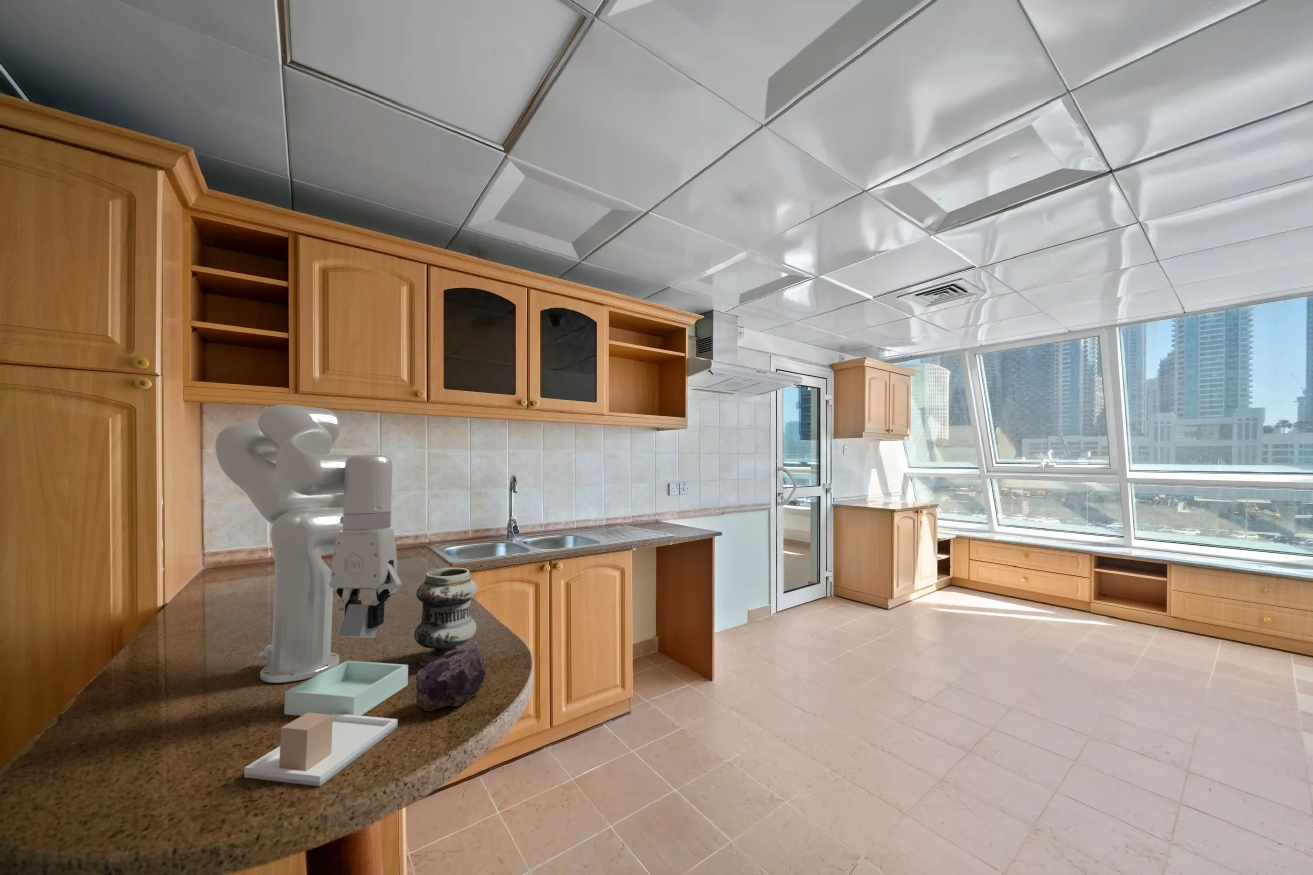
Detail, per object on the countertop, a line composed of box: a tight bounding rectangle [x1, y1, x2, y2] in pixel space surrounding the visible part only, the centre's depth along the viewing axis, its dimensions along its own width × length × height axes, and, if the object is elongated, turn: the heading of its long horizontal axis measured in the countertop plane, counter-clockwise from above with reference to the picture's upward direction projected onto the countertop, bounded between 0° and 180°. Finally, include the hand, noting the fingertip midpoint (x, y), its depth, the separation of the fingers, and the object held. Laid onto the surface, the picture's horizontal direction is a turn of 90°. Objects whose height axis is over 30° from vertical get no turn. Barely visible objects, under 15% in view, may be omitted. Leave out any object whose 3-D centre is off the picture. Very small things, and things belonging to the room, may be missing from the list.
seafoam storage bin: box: [283, 660, 409, 717], centre depth 83 cm, size 13×13×4 cm
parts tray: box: [243, 713, 399, 787], centre depth 68 cm, size 11×14×1 cm
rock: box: [415, 641, 487, 712], centre depth 83 cm, size 12×9×10 cm
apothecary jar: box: [413, 567, 478, 667], centre depth 102 cm, size 12×12×18 cm
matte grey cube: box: [338, 604, 379, 639], centre depth 86 cm, size 4×4×5 cm
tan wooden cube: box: [279, 713, 333, 771], centre depth 65 cm, size 4×4×5 cm
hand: (364, 624), depth 86 cm, fingers closed on matte grey cube, 4 cm apart
